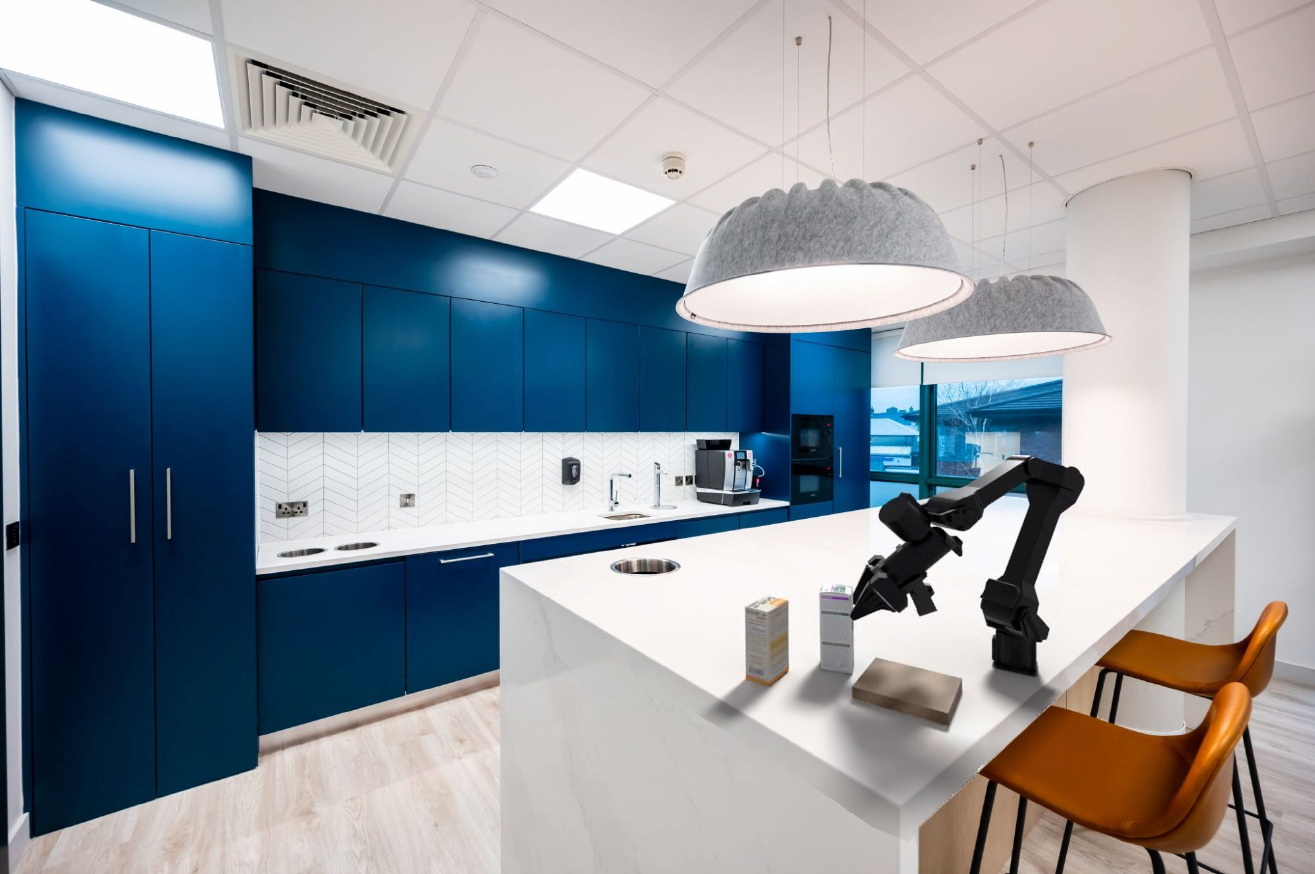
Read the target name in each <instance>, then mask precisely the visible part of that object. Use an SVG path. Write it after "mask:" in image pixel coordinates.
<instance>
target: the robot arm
mask: <svg viewBox="0 0 1315 874" xmlns="http://www.w3.org/2000/svg"><path fill="white" fill-rule="evenodd" d="M1022 484H1024V485H1025V487H1024V488H1025V489H1024V491H1025V494H1026V497H1027V500H1028V501H1027V502H1028V503H1029V504H1028V508H1027V510H1026V513H1025V517H1024V519H1023V522H1022V524H1021V527H1020V529H1019V531H1018V535H1017V538H1016V540H1015V543H1014V545H1013V548H1012V550H1011V554H1010V555H1009V559H1008V562H1007V564H1006V567H1005V570H1004V572H1003V574H1002V575H1001V576H999V577H998V578H997V579H994V578H988V579H987V580H986V582H985V585H984V588H983V589H984V590H983V591H982V593H981V595H980V596H979V598H980V599H981V600H980V605H979V607H980V610H981V612H982V615H983V618H984V621H985V624H986V627H989V628H991V629H994V630H995V634H993V635H992V637H991V660H992V661H994V663H993V667H994V668H998V669H1002V670H1007V671H1011V672H1016V673H1021V674H1025V675H1029V674H1030V676H1034V677H1036V676H1035V675H1037V676H1038V666H1039V665H1038V661H1037V660H1038V659H1037V657H1038V651H1037V650H1038V644H1037V643H1039V644H1040V643H1041V644H1042V643H1043V641H1047V640H1048V638H1049V634H1050V627H1049V626H1048V625H1047V623H1046V622H1045V621H1044V620H1043V619H1042V618H1041V616H1040V615H1039V614H1038V611H1039V608H1040V607H1039V606H1040V600H1039V598H1038V594H1037V590H1036V587H1035V586H1036V583H1037V579H1038V578H1039V575H1040V572H1041V568H1042V566H1043V564H1044V560H1045V558H1046V555H1047V553H1048V549H1049V547H1050V544H1051V541H1052V540H1053V536H1054V534H1055V530H1056V528H1057V525H1058V522H1059V519H1060V517H1061V514H1063V513H1064V512H1065V511H1067V510H1068V509H1070V508H1071V507H1073V506H1074V505H1075V504H1076V503H1077V502H1078V499H1079V497H1080V495H1081V494H1082V491H1084V488H1085V484H1086V481H1085V476H1084V475H1083V474H1082V473H1081V470H1079V469H1078V467H1076V466H1073V465H1072V466H1071V465H1061V464H1058V463H1054V462H1050V461H1046V460H1044V459H1042V458H1040V457H1036V456H1035V455H1024V454H1023V455H1021V454H1013V455H1010V456H1008V457H1007V458H1006V459H1005V460H1004V461H1003V462H1002V463H1000V464H998V465H997V466H995V467H994V468H992V469H991V470H989V471H987V472H985V473H983V474H982V475H980V477H978V478H976V479H974V480H973V481H971V482H970V483H969V484H967V485H965V486H962V487H959V488H954V489H950V490H949V489H948V490H945V491H943V492H939V493H937V494H934V495H932V496H930V498H929V499H928V500H927V502H924V503H922V504H921V503H919V502H918V501H917V499H916V498H915V496H913V495H912V494H911V493H910V492H903V491H901V492H900V493H899V494H898V496H896V497H893V498H892V499H890V500H888V501H887V502H886V503H885V504H882V506H881V507H880V509H879V511H878V515H877V516H878V519H879V521H880V523H882V525H884V526H885V527H886V528H887V529H888V530H889V531H891V532H892V533H893V534H894V535H895V536H897V538H898V539H900V540H901V541H902V542H903V543H902V544H901V543H899V544H898V545H896V546H895V550H894V551H893V552H892V553H890V554H889V555H888V556H887V557H886V558H885V557H884V556H883V555H881V554H874V555H873V556H872V557H871V558H869V559H868V560H867V564H865V565H864V569H863V571H862V573H861V576H860V578H859V580H858V582H857V585H856V586H855V588H854V590H853V610H852V612H851V614H850V618H851V619H852V620H853V621H858V620H860V619H862V618H865V617H867V616H870V615H871V614H873V613H876V612H878V611H882V610H883V611H888V612H891V613H894V614H895V613H898V614H901V612H903V611H904V610H905V609H906V608H908V607H909V598H908V594H909V596H910V598H911V600H912V603H913V604H914V606H915V609H916V613H917V615H918V616H919V617H923V616H926V615H929V614H932V613H933V614H934V613H935V612H938V609H937V607H936V605H935V603H934V600H933V599H932V597H933V596H934V595H935V593H936V592H935V590H934V589H933V586H932V585H931V583H929V582H925V581H924V580H925V579H926V578H927V577H928V572H927V571H928V570H930V569H931V568H932V567H933V566H934V565H936V564H937V563H938V562H939V561H940V560H941V559H942V558H944V557H945V556H947V554H949V553H950V552H951V551H952V552H953V553H954V554H955V555H956V556H957V557H959V558H961V557H963V544H964V542H963V540H962V539H961V538H960V537H959V536H958V535H950V534H949V533H948V531H946V530H945V529H948V530H953V531H958V532H962V533H963V532H967V531H969V530H971V529H972V528H973V527H974V526H975V525H976V524H977V523H978V522H980V520H981V519H982V518H983V517H984V511H985V509H987V507H988V506H990V505H991V504H993V503H995V502H996V501H998V500H999V499H1000V498H1002V497H1003V496H1005V495H1007V494H1009V493H1010V492H1011V491H1014V489H1016V488H1018V487H1019V486H1021V485H1022ZM931 525H932V526H931Z"/></svg>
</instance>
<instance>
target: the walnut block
mask: <svg viewBox="0 0 1315 874" xmlns="http://www.w3.org/2000/svg"><path fill="white" fill-rule="evenodd" d="M962 691H963V678H962V677H957V676H953V675H950V674H946V673H941V672H937V671H933V670H930V669H924V668H923V667H922V668H921V667H918V666H917V667H916V666H913V665H909V664H904V663H900V662H896V661H893V660H888V659H884V658H879V657H874V659H873V660H872V661H871V663H870V664H869V665H868V666H867V667H866V669H864V671H863V673H862V674H861V675H860V676H859V677H858V679H857V680H855V682H854V683H853V684H852V686H851V699H852V700H856V701H859V702H863V703H867V704H869V705H873V706H877V707H880V708H884V709H886V710H890V711H893V712H897V713H899V714H900V713H901V714H905V715H907V716H911V717H914V718H918V719H922V720H925V721H929V722H933V723H935V724H939V725H941V726H942V725H943V726H945V725H946V727H949V724H950V722H951V720H952V717H953V714H954V712H955V709H956V707H957V705H958V702H959V700H960V697H961V694H962Z"/></svg>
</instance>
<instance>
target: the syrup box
mask: <svg viewBox="0 0 1315 874" xmlns="http://www.w3.org/2000/svg"><path fill="white" fill-rule="evenodd" d="M853 589H854V588H853V586H850V585H843V584H835V583H833V584H830V583H829V584H826V583H823V584H822V585H821V588H820V589H819V593H818V594H819V595H818V597H819V599H818V600H819V648H820V649H819V650H820V651H819V652H820V669H821V670H824V671H829V672H836V673H840V674H841V673H842V674H850V675H853V672H854V669H855V667H854V666H855V633H854V631H855V628H854V627H855V623H854V621H853V620H852V619H851V618H850V614H851V612H852V610H853V608H854V605H853V592H854V590H853Z"/></svg>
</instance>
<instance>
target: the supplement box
mask: <svg viewBox="0 0 1315 874" xmlns="http://www.w3.org/2000/svg"><path fill="white" fill-rule="evenodd" d="M789 602H790V601H789V599H786V598H781V597H776V596H772V595H765V596H763V597H761V598H758V599H757V600H756V601H755V600H754V601H753V602H752V603H749V604H747V605H746V606H744V623H745V625H744V626H745V627H744V628H745V629H744V631H745V634H744V636H745V638H744V639H745V642H744V643H745V645H744V646H745V650H744V652H745V679H746V680H748V681H751V682H755V683H757V684H761V685H763V686H766V687H769V686H771V685H772V684H773V683H775V682H776V681H777V680H778V679H779V678H781V677H782V676H783V675H785V674H786V673H787V672H788V671H789V670H790V654H789V653H790V651H789V650H790V648H789V647H790V643H789V640H790V639H789V637H790V636H789V635H790V634H789V633H790V632H789V630H790V629H789V628H790V627H789V616H790V615H789V609H790V608H789V605H790V604H789Z"/></svg>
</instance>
